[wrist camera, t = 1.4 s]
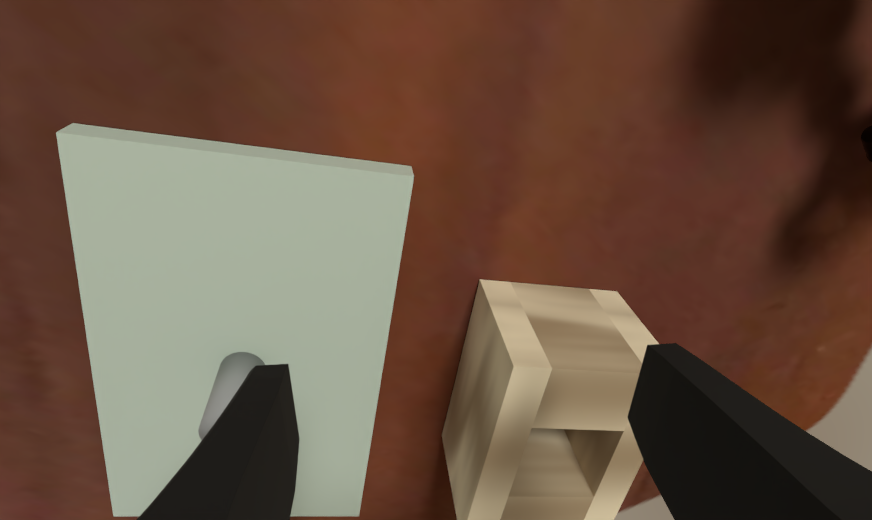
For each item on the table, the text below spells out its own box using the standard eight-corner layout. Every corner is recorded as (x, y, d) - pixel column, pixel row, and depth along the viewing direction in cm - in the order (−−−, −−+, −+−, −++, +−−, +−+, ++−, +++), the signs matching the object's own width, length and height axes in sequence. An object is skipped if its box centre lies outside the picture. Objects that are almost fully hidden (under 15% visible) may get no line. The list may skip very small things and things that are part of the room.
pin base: (358, 497, 25) (359, 583, 21) (122, 495, 23) (80, 590, 19) (411, 166, 18) (424, 215, 14) (72, 123, 16) (-9, 168, 12)
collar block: (560, 439, 25) (603, 540, 20) (441, 435, 24) (461, 541, 19) (616, 291, 21) (684, 375, 17) (479, 279, 20) (513, 366, 16)
